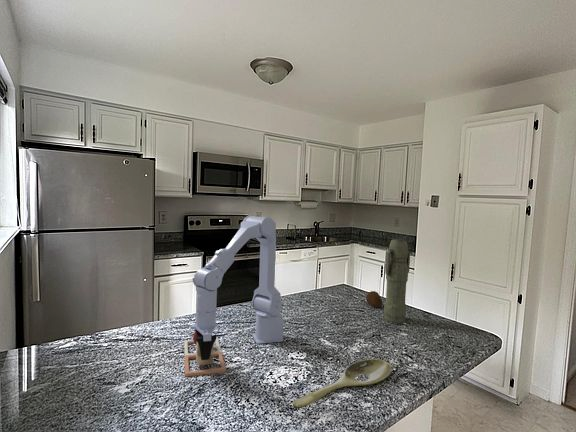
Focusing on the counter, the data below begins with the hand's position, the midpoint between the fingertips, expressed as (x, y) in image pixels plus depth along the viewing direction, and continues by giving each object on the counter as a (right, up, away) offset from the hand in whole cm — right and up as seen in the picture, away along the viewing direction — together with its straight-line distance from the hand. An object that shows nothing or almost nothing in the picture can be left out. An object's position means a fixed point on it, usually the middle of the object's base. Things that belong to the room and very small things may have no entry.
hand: (204, 355), depth 97 cm
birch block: (0, -2, 0) cm, 2 cm away
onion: (-4, -2, +11) cm, 11 cm away
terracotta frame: (0, -3, 0) cm, 3 cm away
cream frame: (-4, -2, +11) cm, 11 cm away
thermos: (+70, -4, +45) cm, 84 cm away
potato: (+66, -3, +65) cm, 93 cm away
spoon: (+40, -5, -7) cm, 41 cm away
